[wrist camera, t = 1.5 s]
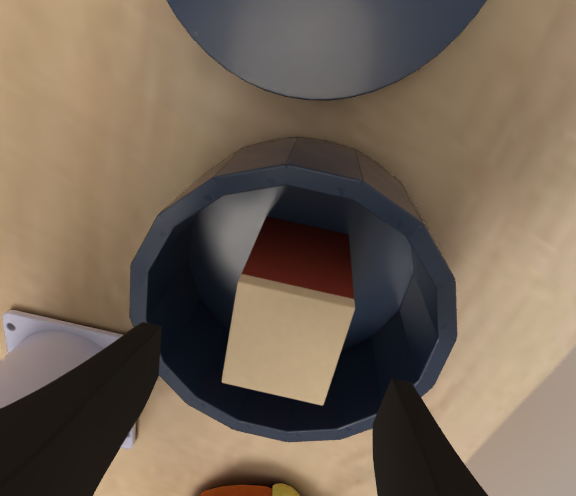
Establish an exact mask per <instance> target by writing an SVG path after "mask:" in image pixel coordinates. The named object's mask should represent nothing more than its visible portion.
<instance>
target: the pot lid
mask: <svg viewBox="0 0 576 496" xmlns="http://www.w3.org/2000/svg"><path fill="white" fill-rule="evenodd" d="M167 2H168V4H169V5H170V7H171V9H172V10H173V12H174V14H175V15H176V17H177V18H178V20H179V21H180V22H181V24H182V25H183V26H184V28H185V29H186V30H187V32H188V33H189V34H190V36H191V37H192V38H193V39H194V40H195V41H196V42H197V43H198V44H199V45H200V46H201V48H202V49H203V50H204V51H205V52H206V53H207V54H208V55H209V56H210V57H212V58H213V59H214V60H215V61H217V62H218V63H219V64H220V65H222V66H223V67H224V68H225V69H226V70H228V71H230V72H231V73H233V74H234V75H236V76H238V77H239V78H241V79H242V80H244V81H246V82H248V83H250V84H252V85H254V86H257V87H259V88H261V89H263V90H265V91H268V92H272V93H275V94H279V95H282V96H285V97H291V98H297V99H304V100H336V99H344V98H351V97H355V96H359V95H363V94H366V93H370V92H374V91H376V90H379V89H381V88H383V87H386V86H388V85H391V84H393V83H395V82H397V81H399V80H401V79H403V78H404V77H406V76H408V75H410V74H411V73H413V72H415V71H417V70H418V69H419V68H421V67H422V66H424V65H425V64H426V63H428V62H429V61H430V60H432V59H433V58H434V57H436V56H437V55H438V54H439V53H440V52H442V51H443V50H444V49H445V48H446V47H447V46H448V45H449V44H450V43H451V42H452V41H453V40H454V39H455V38H457V37H458V36H459V34H460V33H461V32H462V31H463V30H464V29H465V27H466V26H467V25H468V24H469V23H470V22H471V20H472V19H473V18H474V17H475V16H476V15H477V13H478V12H479V11H480V9H481V8H482V6H483V5H484V3H485V2H486V0H167Z"/></svg>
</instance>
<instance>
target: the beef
mask: <svg viewBox="0 0 576 496" xmlns="http://www.w3.org/2000/svg"><path fill="white" fill-rule="evenodd" d="M354 311H355V302H354V289H353V278H352V266H351V254H350V243H349V235H348V234H343V233H339V232H334V231H330V230H326V229H321V228H317V227H312V226H308V225H303V224H299V223H294V222H290V221H285V220H281V219H276V218H272V217H266V218H265V220H264V223H263V225H262V227H261V230H260V232H259V234H258V236H257V239H256V241H255V243H254V246H253V248H252V250H251V253H250V255H249V257H248V260H247V262H246V264H245V267H244V269H243V271H242V273H241V276H240V278H239V281H238V283H237V290H236V296H235V302H234V308H233V314H232V320H231V326H230V332H229V339H228V345H227V351H226V357H225V363H224V369H223V375H222V383H225V384H230V385H234V386H239V387H243V388H247V389H252V390H256V391H261V392H265V393H269V394H274V395H278V396H283V397H287V398H291V399H296V400H300V401H305V402H309V403H313V404H318V405H324V402H325V399H326V396H327V393H328V390H329V387H330V384H331V381H332V378H333V375H334V372H335V369H336V366H337V363H338V359H339V356H340V353H341V350H342V347H343V344H344V341H345V338H346V335H347V332H348V329H349V326H350V323H351V320H352V317H353V314H354Z"/></svg>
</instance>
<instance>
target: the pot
mask: <svg viewBox="0 0 576 496" xmlns="http://www.w3.org/2000/svg"><path fill="white" fill-rule="evenodd" d="M266 217H272V218H276V219H281V220H285V221H290V222H294V223H299V224H303V225H308V226H312V227H317V228H321V229H326V230H330V231H334V232H339V233H343V234H348V235H349V243H350V254H351V266H352V278H353V289H354V302H355V311H354V314H353V317H352V320H351V323H350V326H349V329H348V332H347V335H346V338H345V341H344V344H343V347H342V350H341V353H340V356H339V359H338V363H337V366H336V369H335V372H334V375H333V378H332V381H331V384H330V387H329V390H328V393H327V396H326V399H325V402H324V405H318V404H313V403H309V402H305V401H300V400H296V399H291V398H287V397H283V396H278V395H274V394H269V393H265V392H261V391H256V390H252V389H247V388H243V387H239V386H234V385H230V384H225V383H222V375H223V369H224V363H225V357H226V351H227V345H228V339H229V332H230V326H231V320H232V314H233V308H234V302H235V296H236V290H237V283H238V281H239V278H240V276H241V273H242V271H243V269H244V267H245V264H246V262H247V260H248V257H249V255H250V253H251V250H252V248H253V246H254V243H255V241H256V239H257V236H258V234H259V232H260V230H261V227H262V225H263V223H264V220H265V218H266ZM130 319H131V322H132V324H133V326H134V327H135V326H137V325H138V324H140V323H142V322H145V323H150V324H154V325H158V326H162V330H161V346H160V362H159V376H160V377H161V378H162V379H163V380H164V381H165V382H166V383H167V384H168V385H169V386H170V387H171V388H172V389H173V390H174V391H175V392H176V393H177V394H178V395H179V396H180V398H181V399H182V400H183V401H184V402H185V403H186V404H188V405H189V406H191V407H193V408H195V409H197V410H199V411H200V412H202V413H204V414H206V415H208V416H210V417H211V418H213V419H215V420H217V421H219V422H220V423H222V424H224V425H226V426H228V427H230V428H231V429H235V430H236V431H241V432H245V433H250V434H254V435H258V436H263V437H267V438H271V439H276V440H280V441H285V442H287V441H288V442H302V441H322V440H341V439H344V438H347V437H350V436H352V435H355V434H358V433H361V432H364V431H366V430H369V429H372V428H373V422H374V420H375V417H376V415H377V412H378V410H379V408H380V405H381V403H382V400H383V398H384V396H385V393H386V391H387V388H388V386H389V383H390V381H391V379H392V378H395V379H399V380H404V381H408V382H412V384H413V385H414V387H415V389H416V390H417V392H418V394H419V395H420V397H422V396H423V395H424V394H425V393H427V392H428V391H429V390H430V389H431V388H432V387H433V386H434V385H435V383H436V381H437V379H438V377H439V374H440V372H441V370H442V368H443V366H444V364H445V362H446V360H447V358H448V356H449V354H450V352H451V350H452V348H453V346H454V344H455V342H456V337H457V309H456V281H455V278H454V276H453V274H452V272H451V270H450V269H449V267H448V265H447V263H446V261H445V260H444V258H443V256H442V254H441V252H440V251H439V249H438V247H437V245H436V243H435V242H434V240H433V238H432V236H431V234H430V233H429V231H428V229H427V227H426V225H425V224H424V222H423V220H422V218H421V217H420V215H419V213H418V211H417V210H416V208H415V206H414V204H413V202H412V201H411V199H410V197H409V195H408V194H407V192H406V190H405V188H404V187H403V185H402V183H401V182H400V181H399V180H397V179H396V178H395V177H393V176H392V175H391V174H390V173H389V172H387V171H386V170H385V169H384V168H383V167H381V166H380V165H379V164H378V163H376V162H375V161H373V160H372V159H370V158H368V157H367V156H365V155H364V154H362V153H360V152H359V151H357V150H355V149H352V148H349V147H346V146H344V145H340V144H337V143H333V142H330V141H326V140H319V139H313V138H303V137H299V138H298V137H295V138H283V139H275V140H270V141H266V142H262V143H258V144H255V145H252V146H247V147H244V148H241V149H240V150H239V151H237V152H236V153H234V154H233V155H231V156H230V157H228V158H226V159H225V160H223V161H222V162H221V163H220V164H218V165H217V166H215V167H214V168H213V169H211V170H210V171H208V172H207V173H205V174H204V175H202V176H201V177H200V178H199V179H198V180H197V181H195V182H194V183H193V184H192V185H191V186H190V187H189V188H188V189H186V190H185V191H184V192H183V193H182V194H181V195H180V196H178V197H177V198H176V199H175V200H174V201H173V202H172V203H170V204H169V205H168V206H167V207H166V208H165V209H164V210H162V211H161V212H160V213H159V214H158V216H157V217H156V219H155V221H154V223H153V225H152V226H151V228H150V230H149V232H148V234H147V236H146V237H145V239H144V241H143V243H142V245H141V246H140V248H139V250H138V252H137V254H136V256H135V257H134V259H133V261H132V263H131V274H130Z"/></svg>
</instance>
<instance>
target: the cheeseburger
mask: <svg viewBox="0 0 576 496" xmlns="http://www.w3.org/2000/svg"><path fill="white" fill-rule="evenodd" d="M200 496H300V494H299V493H298V492H297V491H296V490H295V489H294V488H292V487H291V486H288V485H286V484H283V483H279V484H274V485H273V489H272V488H269V487H267V486H255V485H233V486H223V487H217V488H213V489H210V490H206V491H203V492H202V493H201V494H200Z"/></svg>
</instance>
